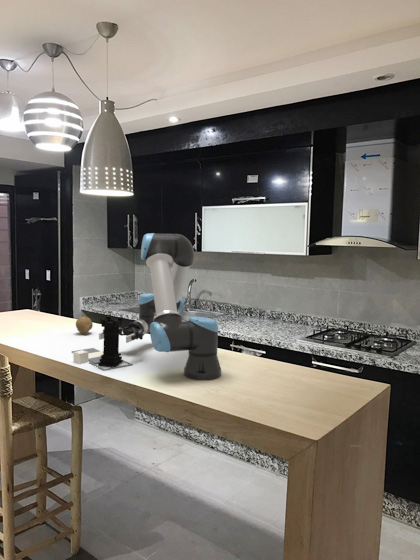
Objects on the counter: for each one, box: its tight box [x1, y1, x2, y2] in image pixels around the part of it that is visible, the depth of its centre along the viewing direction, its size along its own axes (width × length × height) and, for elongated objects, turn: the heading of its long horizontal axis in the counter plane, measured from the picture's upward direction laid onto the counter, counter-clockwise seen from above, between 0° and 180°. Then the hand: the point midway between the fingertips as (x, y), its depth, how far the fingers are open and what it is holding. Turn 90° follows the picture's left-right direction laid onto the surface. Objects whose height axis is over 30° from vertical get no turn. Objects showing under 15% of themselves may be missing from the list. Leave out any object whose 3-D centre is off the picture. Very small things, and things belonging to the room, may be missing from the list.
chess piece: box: [97, 315, 124, 368], centre depth 193 cm, size 8×8×20 cm
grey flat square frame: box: [88, 358, 134, 372], centre depth 194 cm, size 14×14×1 cm
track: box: [71, 347, 103, 365], centre depth 206 cm, size 24×11×1 cm, turn 40°
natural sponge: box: [75, 315, 94, 335], centre depth 250 cm, size 9×9×10 cm
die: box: [72, 349, 89, 365], centre depth 196 cm, size 4×4×5 cm
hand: (112, 338), depth 195 cm, fingers open, 13 cm apart
